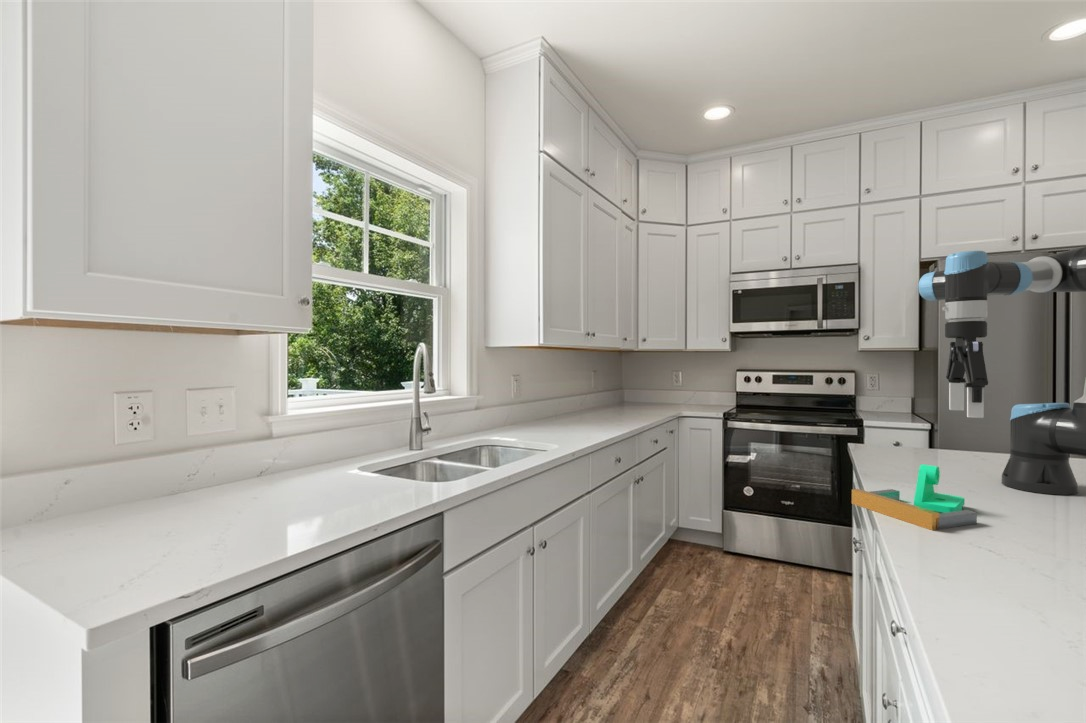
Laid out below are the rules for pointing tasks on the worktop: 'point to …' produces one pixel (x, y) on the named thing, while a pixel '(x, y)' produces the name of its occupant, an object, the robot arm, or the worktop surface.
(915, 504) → the camera mount
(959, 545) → the worktop surface
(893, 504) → the dock
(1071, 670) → the worktop surface
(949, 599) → the worktop surface
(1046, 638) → the worktop surface
